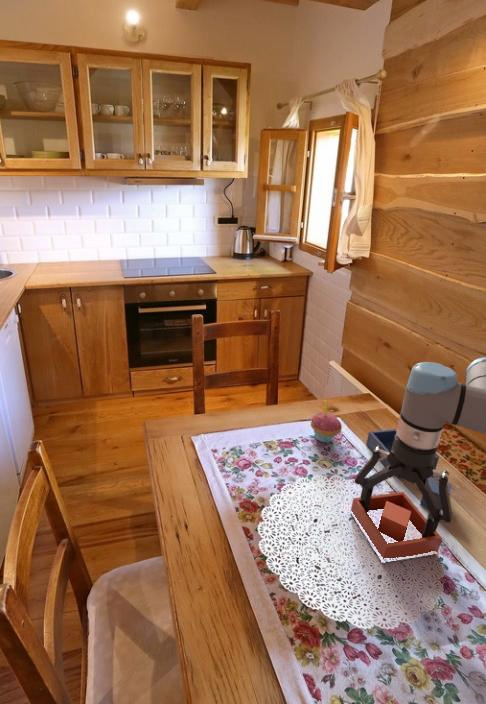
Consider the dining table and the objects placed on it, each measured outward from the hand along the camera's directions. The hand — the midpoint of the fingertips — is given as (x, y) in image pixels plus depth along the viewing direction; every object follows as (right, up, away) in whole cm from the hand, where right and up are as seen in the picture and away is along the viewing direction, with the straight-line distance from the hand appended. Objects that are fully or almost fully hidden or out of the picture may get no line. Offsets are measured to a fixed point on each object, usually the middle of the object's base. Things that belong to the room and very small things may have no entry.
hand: (393, 525), depth 86 cm
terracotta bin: (0, -2, +1) cm, 2 cm away
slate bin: (+12, +6, +24) cm, 28 cm away
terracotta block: (0, -2, +1) cm, 2 cm away
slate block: (+13, 0, +9) cm, 16 cm away
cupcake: (-7, +9, +31) cm, 33 cm away
